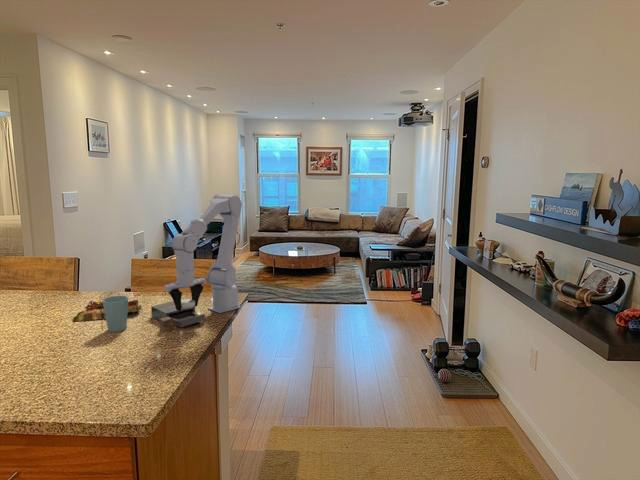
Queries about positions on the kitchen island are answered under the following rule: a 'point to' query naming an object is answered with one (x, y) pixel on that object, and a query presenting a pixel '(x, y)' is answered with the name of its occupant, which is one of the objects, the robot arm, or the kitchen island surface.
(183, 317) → the tray
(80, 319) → the crumpled patterned cloth
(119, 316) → the cup
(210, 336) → the kitchen island surface
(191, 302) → the white rounded dome
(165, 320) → the brown cardboard cube
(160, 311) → the shiny gray metal block
